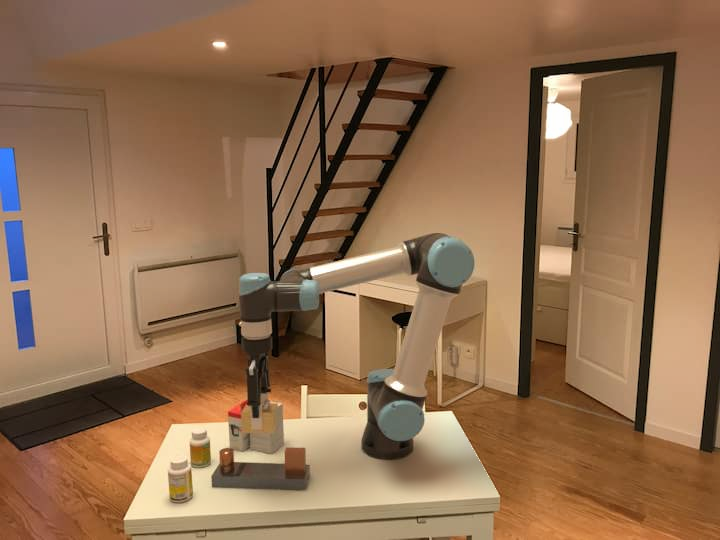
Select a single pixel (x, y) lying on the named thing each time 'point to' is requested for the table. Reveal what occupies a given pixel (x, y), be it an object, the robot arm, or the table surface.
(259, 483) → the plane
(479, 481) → the table surface
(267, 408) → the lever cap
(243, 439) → the ink box
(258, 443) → the supplement box
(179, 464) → the supplement bottle
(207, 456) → the supplement bottle
